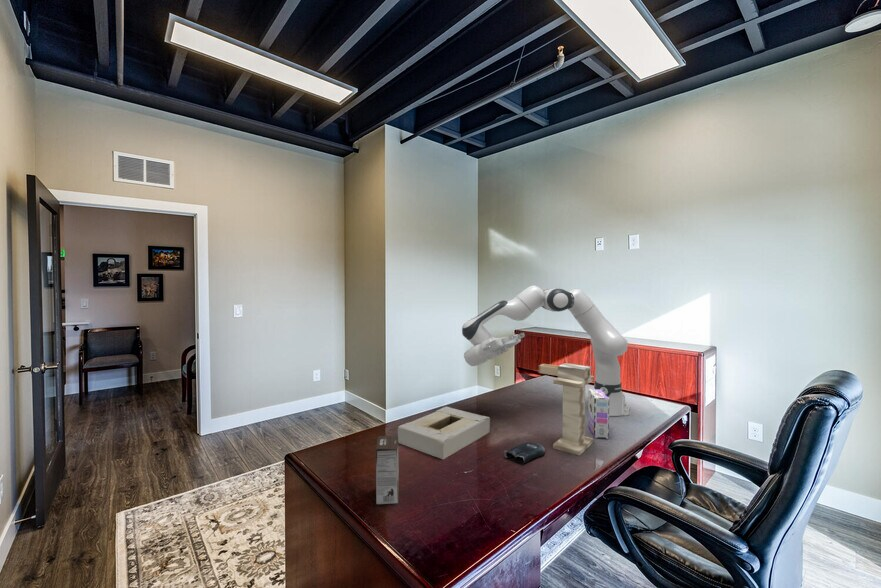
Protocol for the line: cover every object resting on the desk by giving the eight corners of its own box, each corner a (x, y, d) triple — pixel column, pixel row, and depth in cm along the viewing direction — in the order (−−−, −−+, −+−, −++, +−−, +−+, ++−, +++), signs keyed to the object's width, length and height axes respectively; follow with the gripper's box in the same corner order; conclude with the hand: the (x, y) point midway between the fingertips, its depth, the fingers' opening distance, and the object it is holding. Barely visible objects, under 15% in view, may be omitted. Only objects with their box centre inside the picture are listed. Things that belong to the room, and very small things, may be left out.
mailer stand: (568, 435, 156) (569, 361, 155) (593, 442, 150) (594, 364, 149) (553, 448, 145) (553, 367, 144) (579, 455, 139) (580, 371, 138)
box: (444, 462, 136) (490, 433, 161) (443, 440, 135) (490, 414, 161) (396, 446, 150) (446, 421, 175) (396, 426, 150) (446, 404, 175)
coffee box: (378, 487, 118) (377, 435, 117) (399, 486, 118) (398, 434, 118) (375, 504, 109) (375, 448, 108) (398, 503, 109) (398, 447, 109)
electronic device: (526, 471, 131) (550, 451, 141) (523, 455, 131) (547, 437, 141) (505, 465, 138) (529, 447, 148) (502, 450, 138) (526, 433, 148)
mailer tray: (542, 370, 157) (542, 363, 157) (588, 377, 145) (588, 370, 145) (537, 372, 154) (537, 365, 154) (584, 380, 142) (584, 372, 142)
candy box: (609, 439, 153) (609, 398, 152) (593, 438, 154) (594, 397, 153) (602, 426, 166) (602, 388, 166) (587, 425, 167) (588, 388, 167)
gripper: (478, 343, 166) (503, 331, 158) (502, 338, 182) (525, 326, 174) (483, 357, 165) (509, 345, 157) (507, 351, 180) (531, 339, 173)
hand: (518, 335), depth 166 cm, fingers open, 8 cm apart
